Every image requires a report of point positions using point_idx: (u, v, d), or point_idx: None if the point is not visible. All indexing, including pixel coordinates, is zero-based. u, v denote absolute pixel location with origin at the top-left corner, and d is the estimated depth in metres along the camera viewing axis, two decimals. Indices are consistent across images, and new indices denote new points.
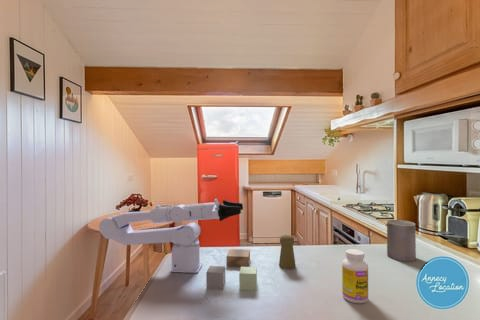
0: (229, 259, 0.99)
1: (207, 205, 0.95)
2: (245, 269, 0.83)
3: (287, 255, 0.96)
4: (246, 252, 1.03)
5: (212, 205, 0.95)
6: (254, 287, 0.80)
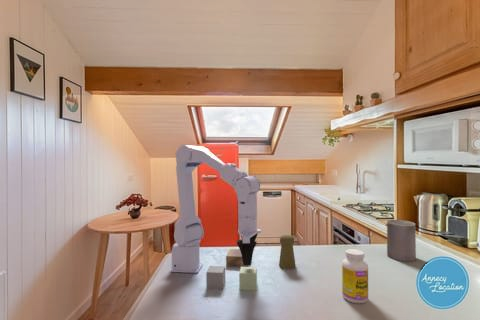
0: (229, 259, 0.99)
1: (254, 223, 0.81)
2: (245, 269, 0.83)
3: (287, 255, 0.96)
4: None
5: (254, 229, 0.81)
6: (254, 286, 0.80)
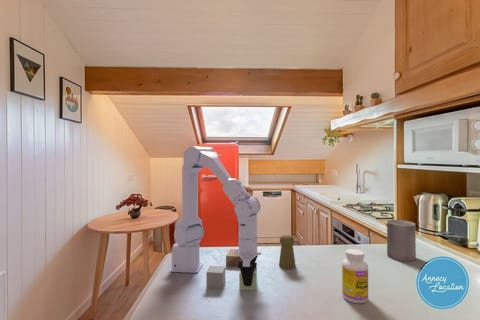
0: (228, 259, 0.99)
1: (255, 245, 0.81)
2: None
3: (287, 255, 0.96)
4: None
5: (254, 251, 0.81)
6: (254, 286, 0.80)
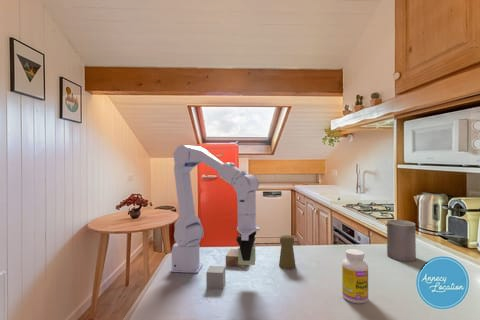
0: (228, 259, 0.99)
1: (253, 221, 0.83)
2: None
3: (287, 255, 0.96)
4: None
5: (253, 226, 0.83)
6: (253, 261, 0.82)
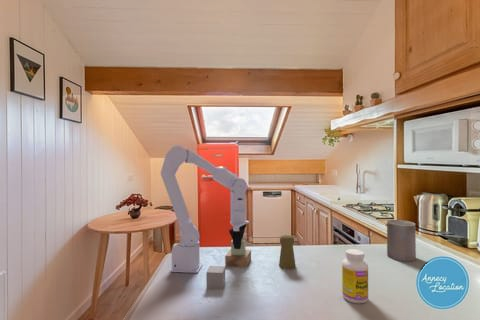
0: (228, 258, 0.99)
1: (243, 215, 1.01)
2: None
3: (287, 255, 0.96)
4: (245, 253, 1.02)
5: (243, 220, 1.01)
6: (243, 252, 1.00)
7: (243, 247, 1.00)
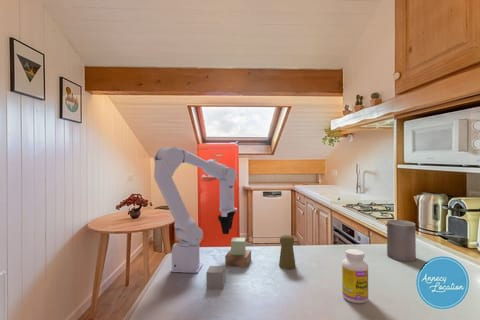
0: (228, 258, 0.99)
1: (232, 202, 1.06)
2: (236, 239, 1.03)
3: (287, 255, 0.96)
4: (246, 253, 1.02)
5: (231, 207, 1.06)
6: (243, 252, 1.00)
7: (243, 247, 1.00)
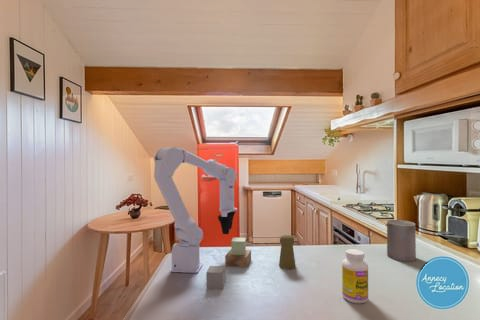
0: (228, 258, 0.99)
1: (232, 202, 1.06)
2: (236, 239, 1.03)
3: (287, 255, 0.96)
4: (245, 253, 1.02)
5: (231, 207, 1.06)
6: (243, 252, 1.00)
7: (243, 247, 1.00)
